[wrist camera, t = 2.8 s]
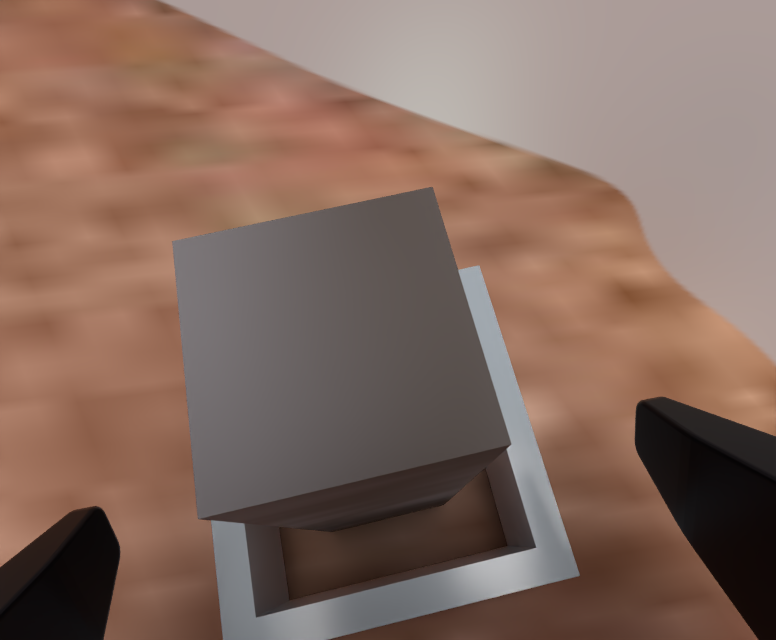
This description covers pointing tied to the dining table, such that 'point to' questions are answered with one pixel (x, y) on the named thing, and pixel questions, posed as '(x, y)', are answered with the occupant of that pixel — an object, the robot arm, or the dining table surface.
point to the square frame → (422, 585)
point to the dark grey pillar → (332, 367)
